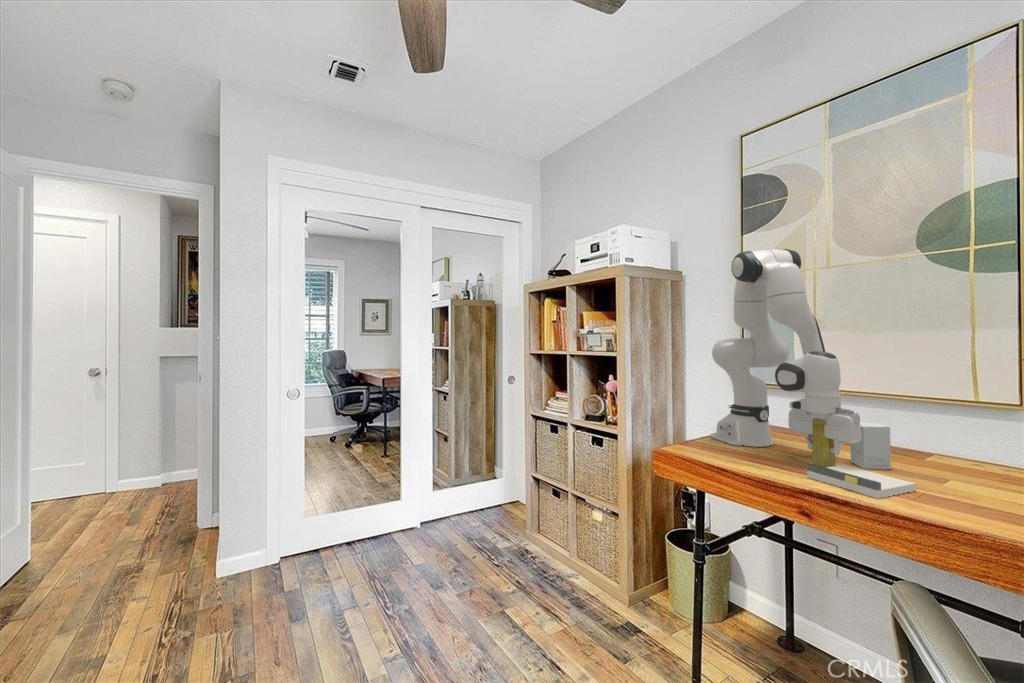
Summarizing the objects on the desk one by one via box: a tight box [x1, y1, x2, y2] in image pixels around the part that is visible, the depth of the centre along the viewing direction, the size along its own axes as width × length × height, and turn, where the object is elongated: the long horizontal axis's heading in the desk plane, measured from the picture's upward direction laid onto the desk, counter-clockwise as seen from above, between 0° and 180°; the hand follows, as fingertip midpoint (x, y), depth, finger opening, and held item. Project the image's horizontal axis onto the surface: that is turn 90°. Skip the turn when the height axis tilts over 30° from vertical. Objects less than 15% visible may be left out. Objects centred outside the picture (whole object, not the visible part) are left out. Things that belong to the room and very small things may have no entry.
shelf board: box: [806, 463, 917, 500], centre depth 119 cm, size 18×14×4 cm
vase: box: [811, 420, 837, 468], centre depth 134 cm, size 6×6×14 cm
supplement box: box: [849, 422, 892, 470], centre depth 135 cm, size 7×7×13 cm
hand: (823, 451), depth 134 cm, fingers closed on vase, 5 cm apart
